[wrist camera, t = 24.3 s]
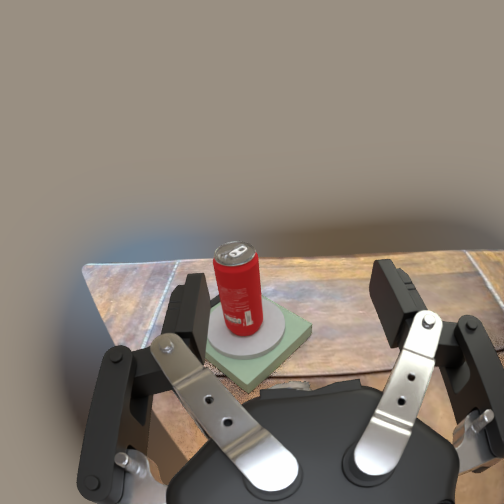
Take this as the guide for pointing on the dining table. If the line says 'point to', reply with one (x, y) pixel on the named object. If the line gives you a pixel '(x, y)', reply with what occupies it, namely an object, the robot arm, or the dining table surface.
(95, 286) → the dining table surface
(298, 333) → the scale
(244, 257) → the beverage can
